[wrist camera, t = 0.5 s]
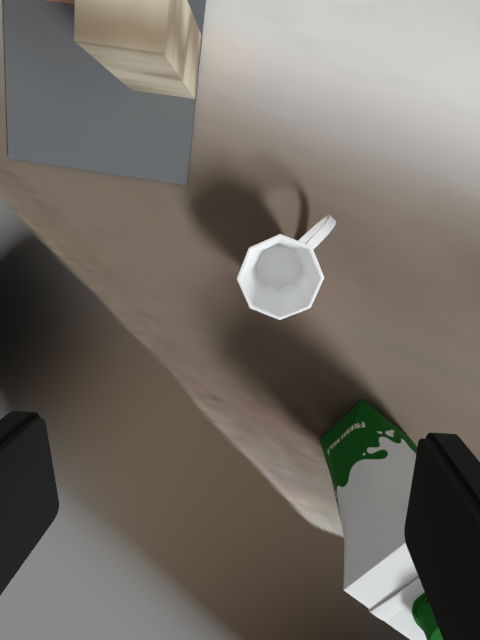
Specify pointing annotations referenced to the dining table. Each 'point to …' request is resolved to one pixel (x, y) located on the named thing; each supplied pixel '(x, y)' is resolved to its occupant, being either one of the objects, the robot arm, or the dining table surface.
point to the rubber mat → (87, 102)
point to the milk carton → (377, 518)
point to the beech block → (142, 42)
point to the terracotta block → (64, 1)
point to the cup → (284, 272)
